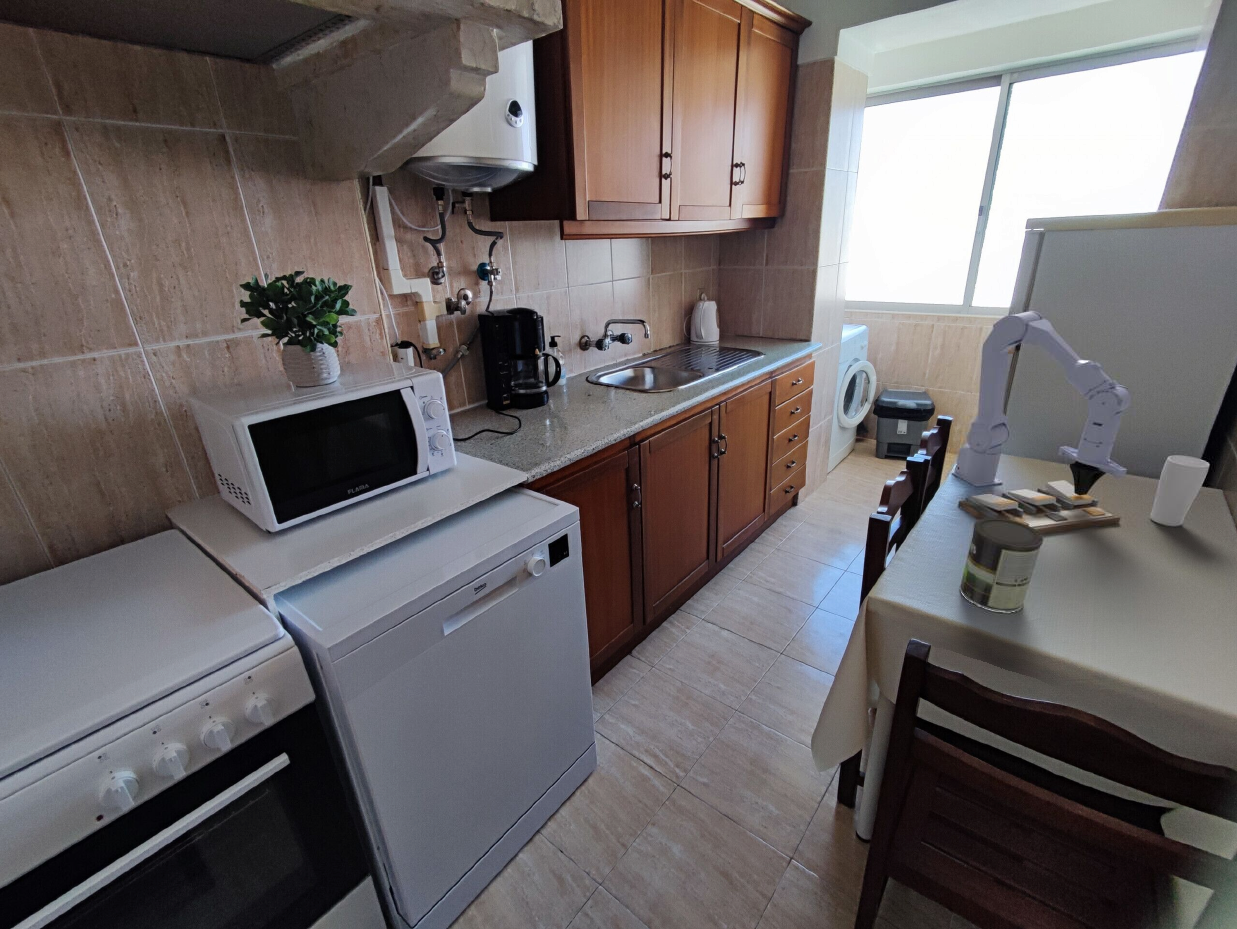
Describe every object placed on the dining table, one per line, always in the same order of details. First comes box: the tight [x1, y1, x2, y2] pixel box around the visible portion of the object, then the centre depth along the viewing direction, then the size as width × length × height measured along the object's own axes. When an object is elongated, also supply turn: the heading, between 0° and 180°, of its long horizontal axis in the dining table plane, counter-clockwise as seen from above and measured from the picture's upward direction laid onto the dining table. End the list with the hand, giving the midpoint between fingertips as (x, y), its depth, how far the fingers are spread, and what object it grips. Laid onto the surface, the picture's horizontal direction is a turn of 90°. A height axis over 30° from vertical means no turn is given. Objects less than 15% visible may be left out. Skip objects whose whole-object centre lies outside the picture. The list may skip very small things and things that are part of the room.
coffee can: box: [959, 518, 1044, 612], centre depth 102 cm, size 10×10×14 cm
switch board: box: [957, 487, 1121, 535], centre depth 132 cm, size 16×28×3 cm, turn 100°
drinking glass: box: [1149, 454, 1211, 527], centre depth 124 cm, size 7×7×15 cm
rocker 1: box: [971, 493, 1018, 510], centre depth 131 cm, size 8×5×1 cm, turn 10°
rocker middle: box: [1007, 488, 1056, 505], centre depth 133 cm, size 8×5×1 cm, turn 10°
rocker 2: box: [1044, 479, 1094, 505], centre depth 134 cm, size 8×5×1 cm, turn 10°
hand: (1080, 493), depth 131 cm, fingers closed
